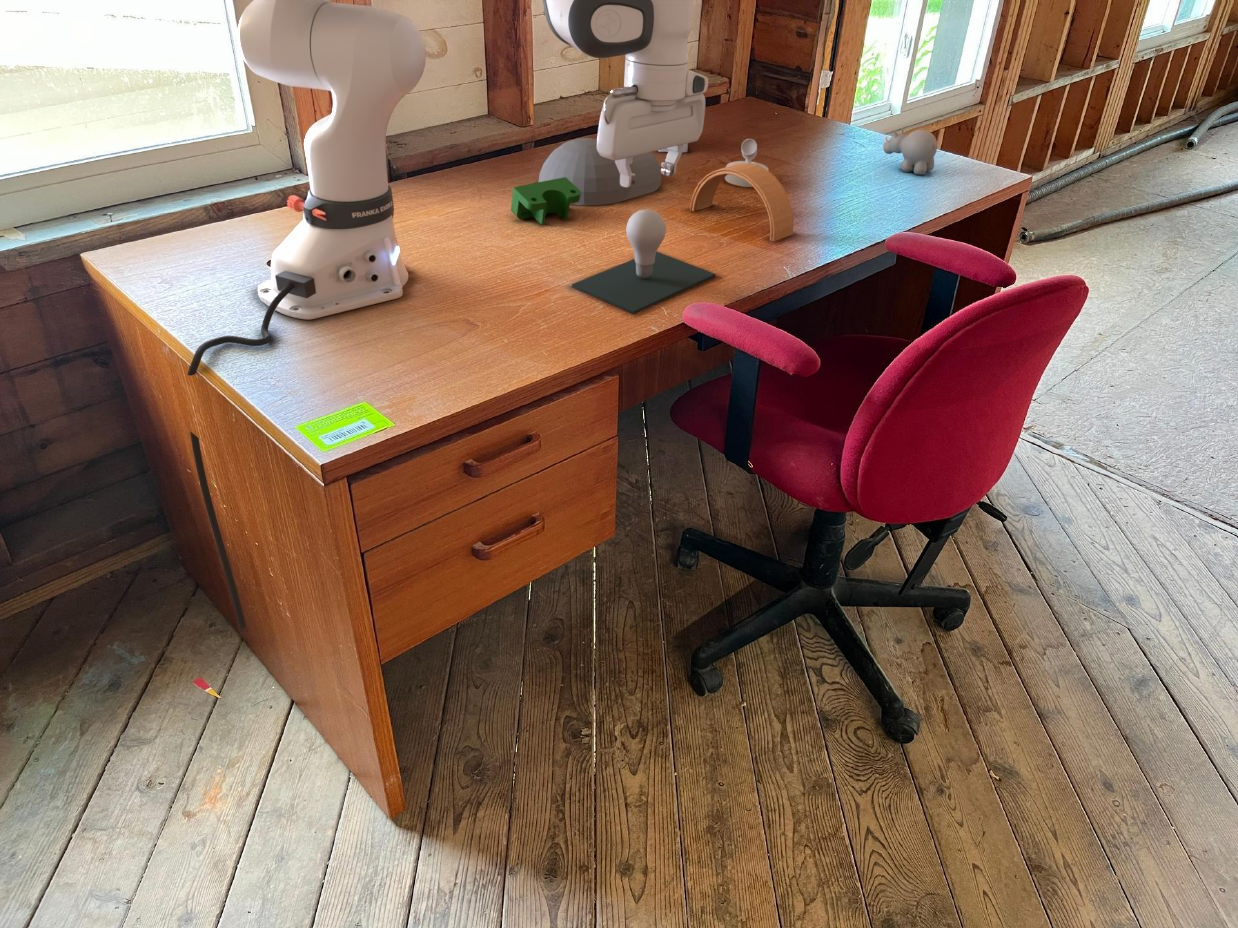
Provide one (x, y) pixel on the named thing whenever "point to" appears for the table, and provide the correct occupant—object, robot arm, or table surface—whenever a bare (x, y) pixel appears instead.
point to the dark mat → (643, 283)
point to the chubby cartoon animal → (913, 150)
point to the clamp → (544, 199)
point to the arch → (763, 184)
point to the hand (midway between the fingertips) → (648, 180)
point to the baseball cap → (599, 173)
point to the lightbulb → (645, 239)
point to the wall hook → (748, 153)
